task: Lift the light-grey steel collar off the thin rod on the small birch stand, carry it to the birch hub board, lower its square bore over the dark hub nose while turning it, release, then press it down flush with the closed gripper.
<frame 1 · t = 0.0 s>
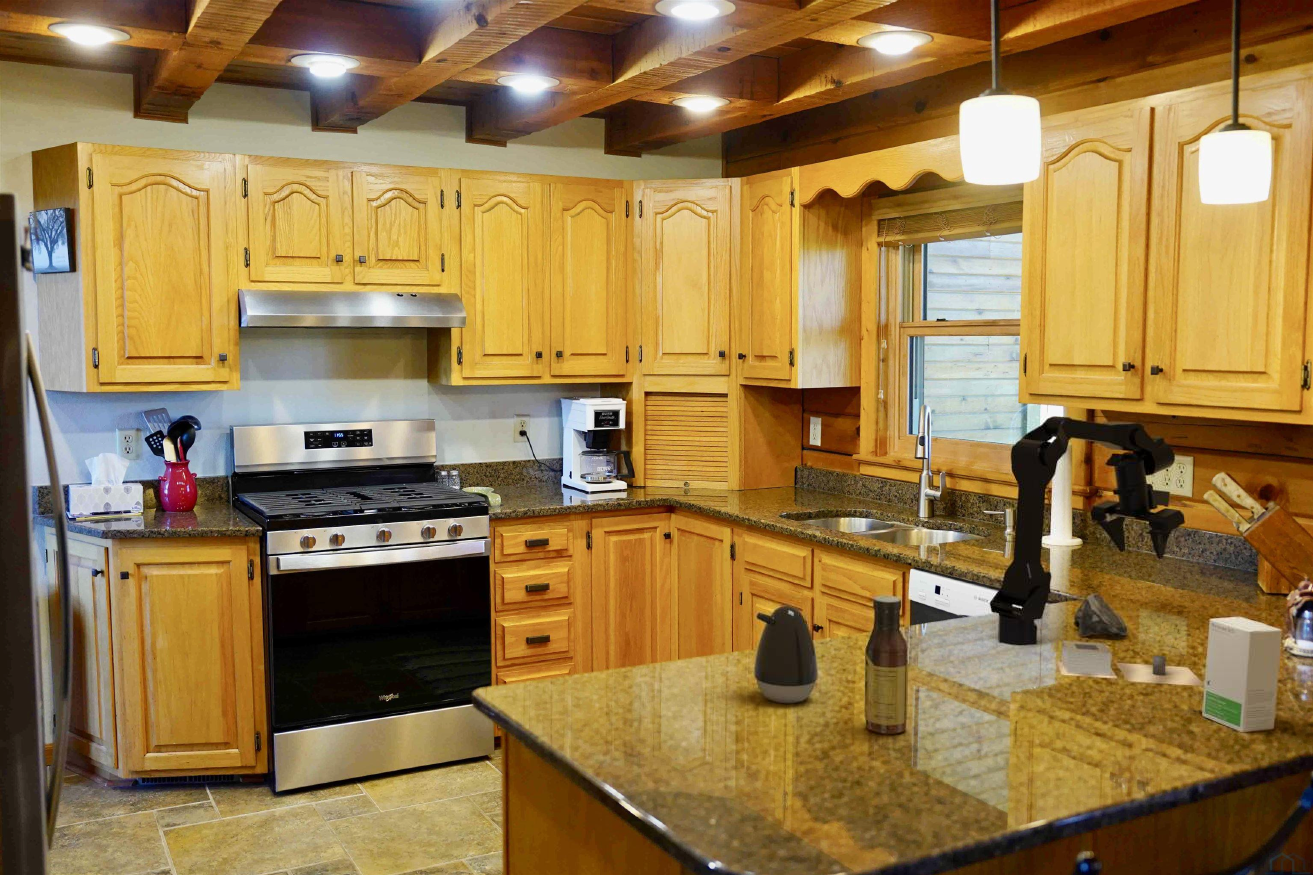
hand: (1141, 554, 238), 15 cm above the worktop, tool pointing down, fingers open, 9 cm apart
collar: (1085, 669, 203), point 1 cm above the worktop, touching stand
hub: (1158, 680, 200), on the worktop
pump dispenser: (784, 700, 187), on the worktop
skincare box: (1239, 724, 178), on the worktop
stand: (1085, 676, 203), on the worktop
carved stone fragment: (1101, 636, 233), on the worktop
sauce bottle: (885, 730, 172), on the worktop
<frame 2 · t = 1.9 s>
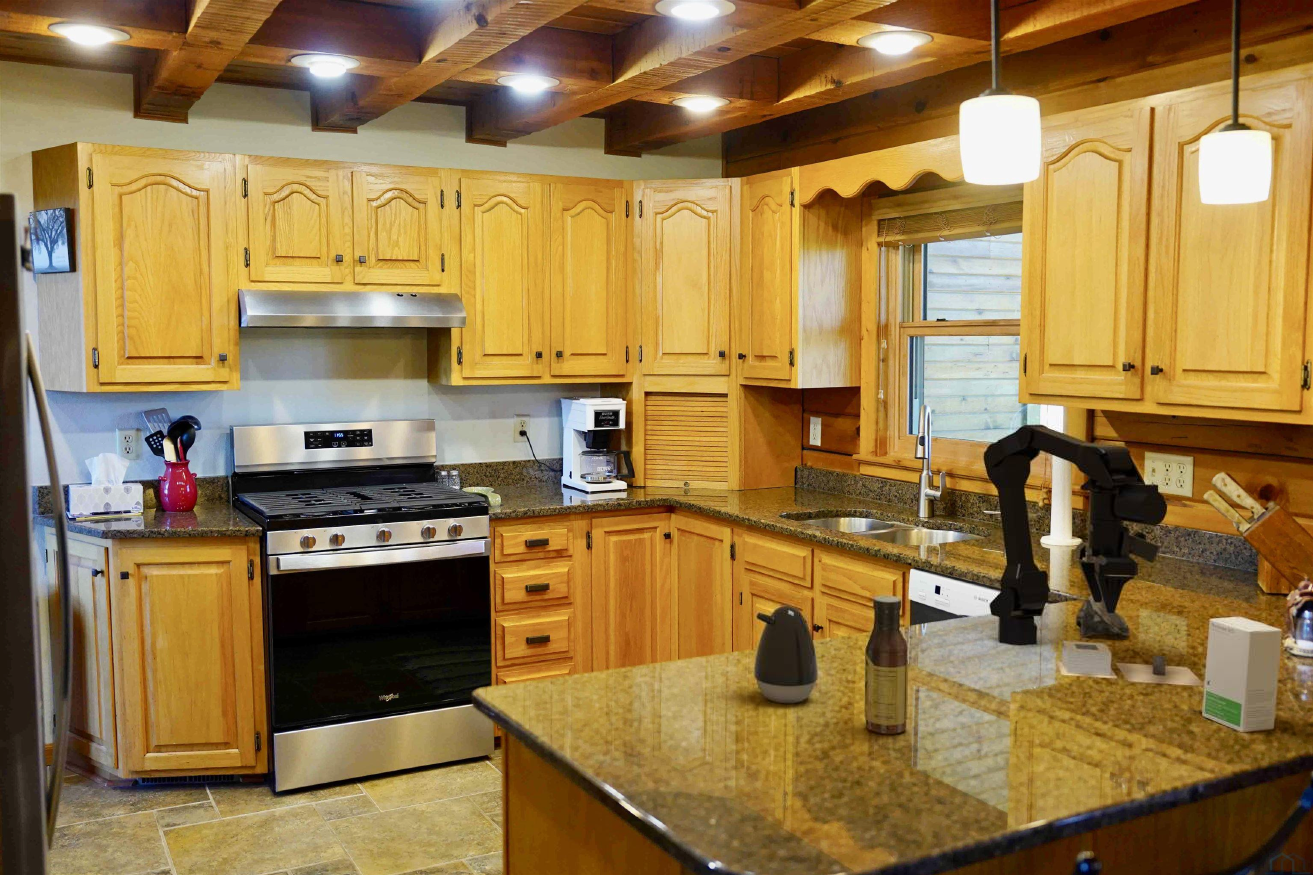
hand: (1104, 607, 202), 12 cm above the worktop, tool pointing down, fingers open, 9 cm apart
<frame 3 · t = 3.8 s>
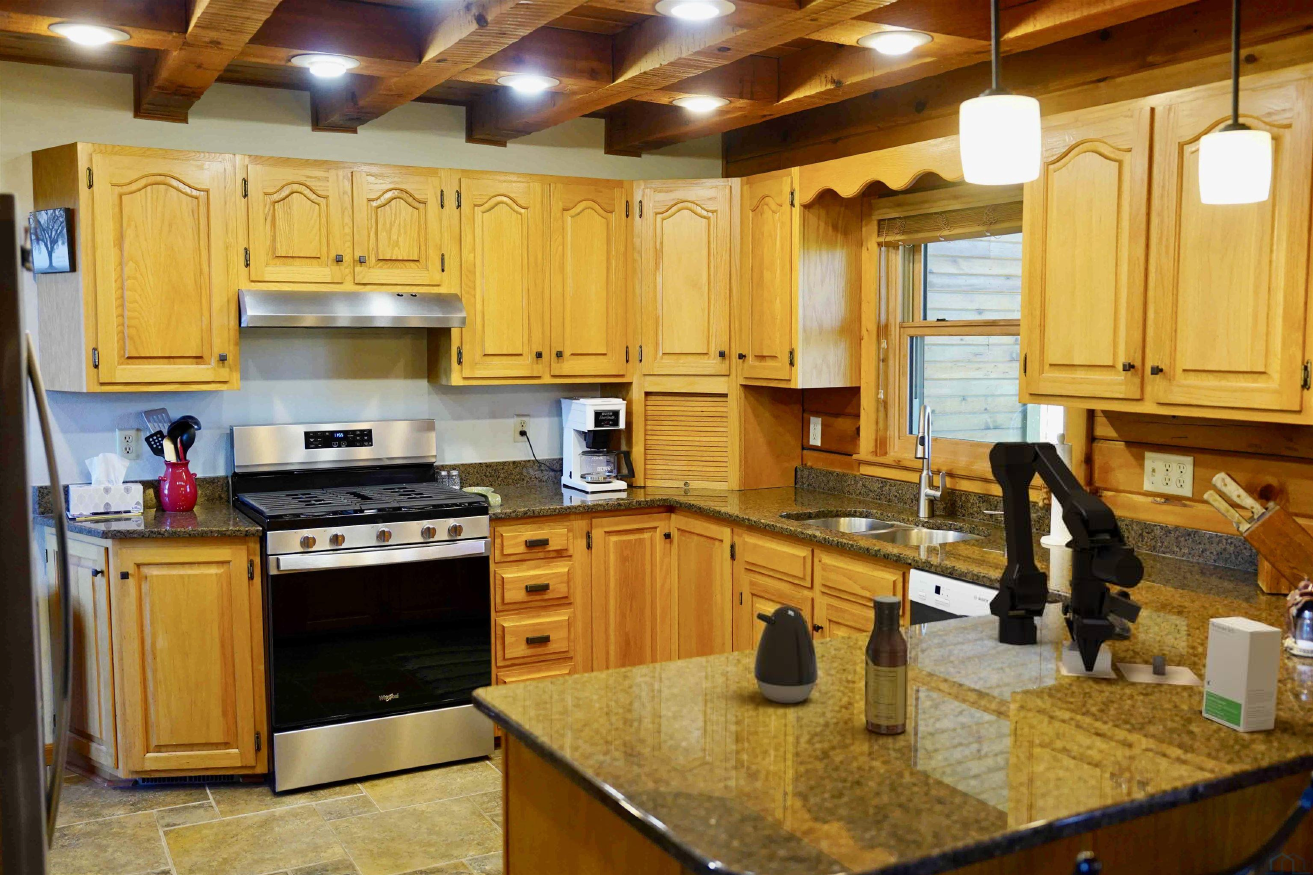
hand: (1085, 665, 203), 2 cm above the worktop, tool pointing down, fingers closed on collar, 7 cm apart
collar: (1085, 669, 203), point 1 cm above the worktop, touching gripper, stand
everything else where it was.
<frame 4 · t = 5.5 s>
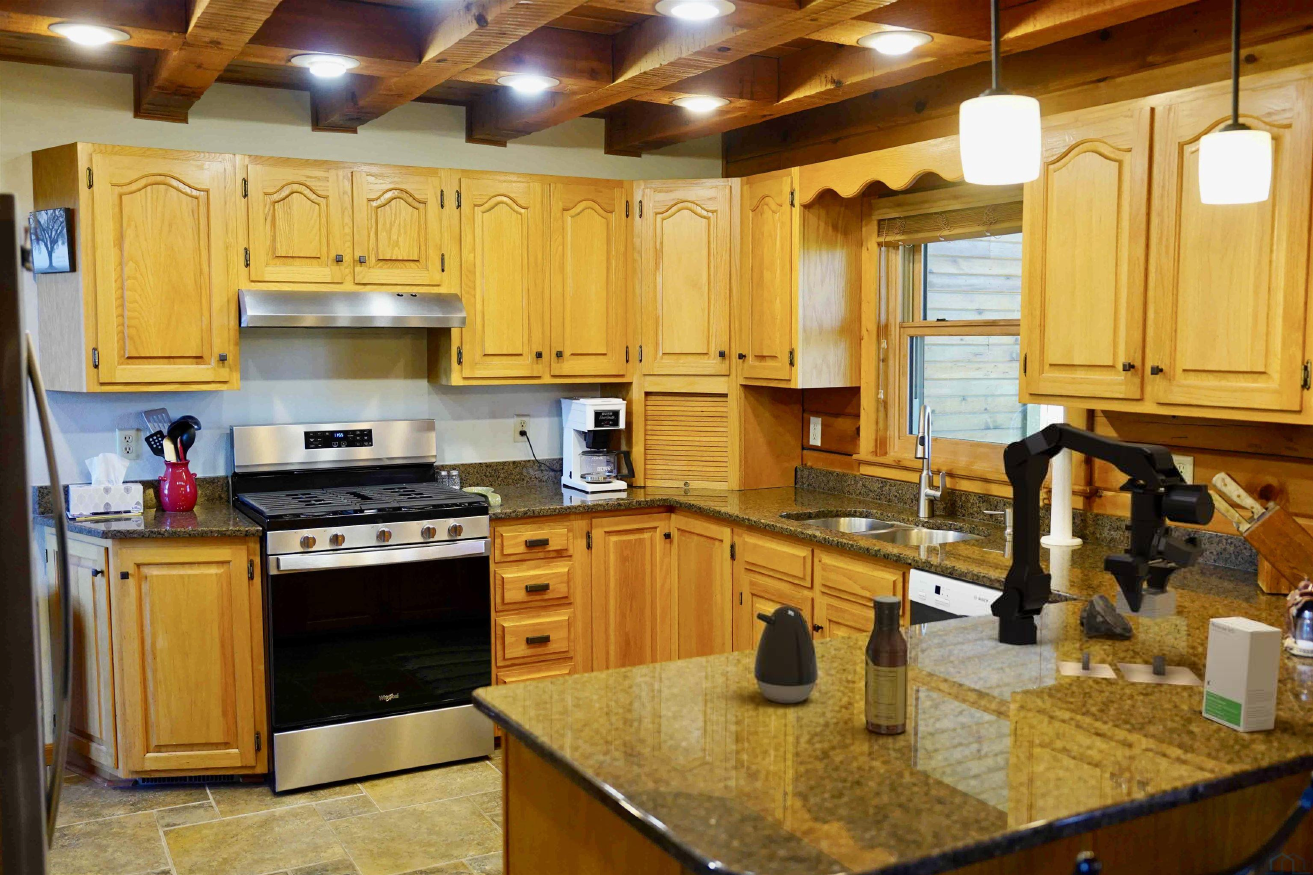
hand: (1145, 609, 200), 12 cm above the worktop, tool pointing down, fingers closed on collar, 7 cm apart
collar: (1145, 613, 200), point 12 cm above the worktop, touching gripper
when the fingers open (3 cm above the worktop, at t = 7.6 s): collar drops 1 cm, resting on hub.
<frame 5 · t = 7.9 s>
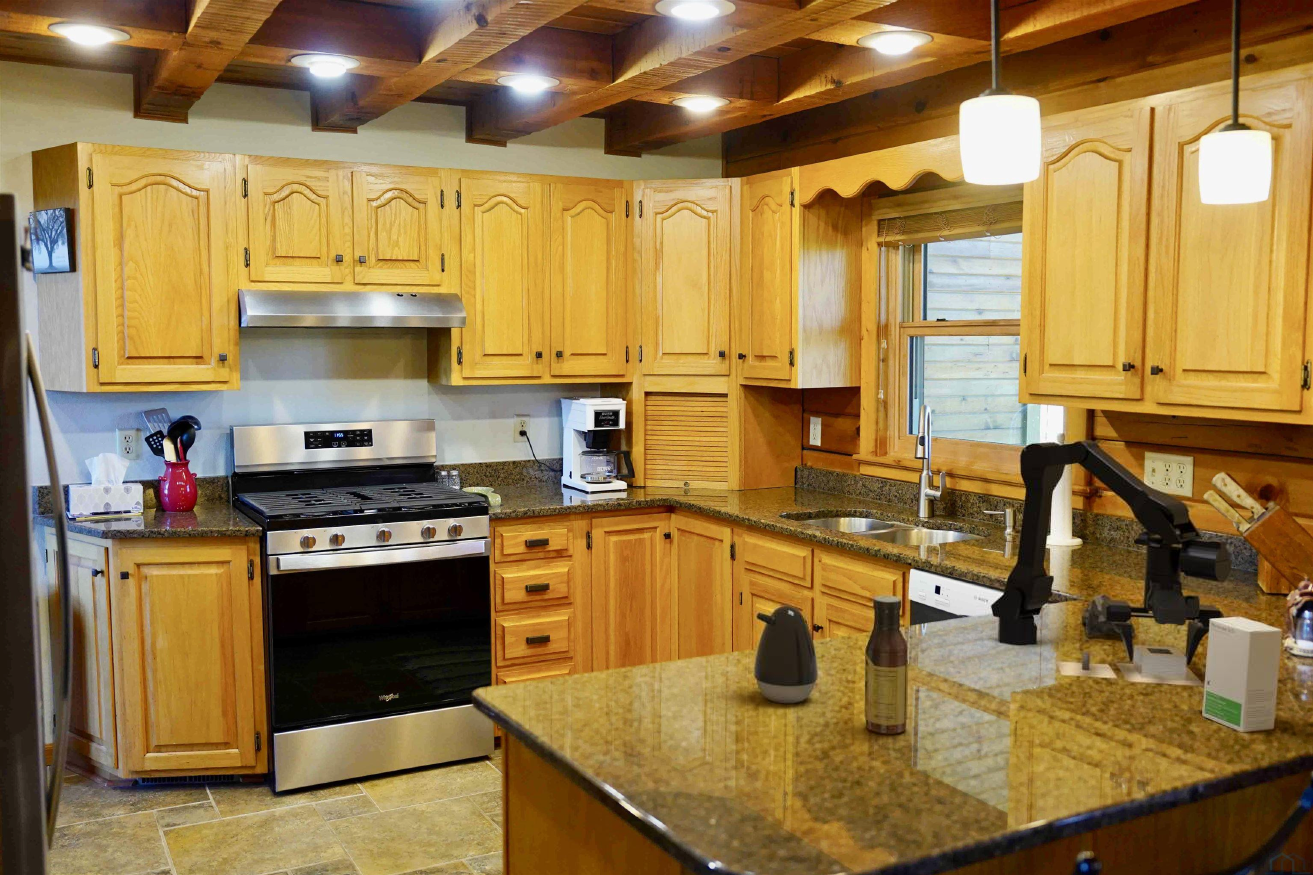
hand: (1159, 662, 200), 3 cm above the worktop, tool pointing down, fingers open, 9 cm apart
collar: (1158, 674, 200), point 1 cm above the worktop, touching hub
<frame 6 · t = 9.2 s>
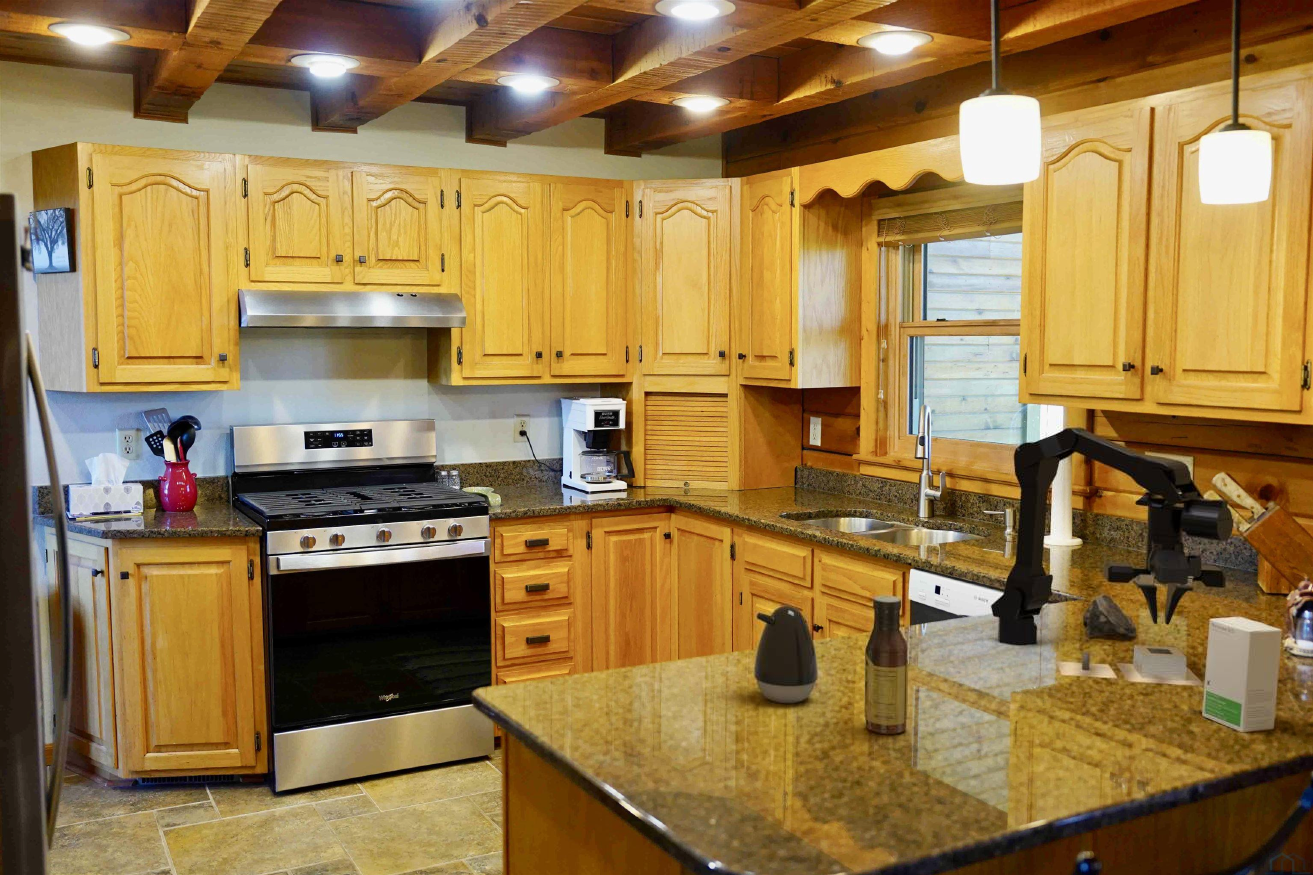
hand: (1161, 623, 200), 10 cm above the worktop, tool pointing down, fingers closed
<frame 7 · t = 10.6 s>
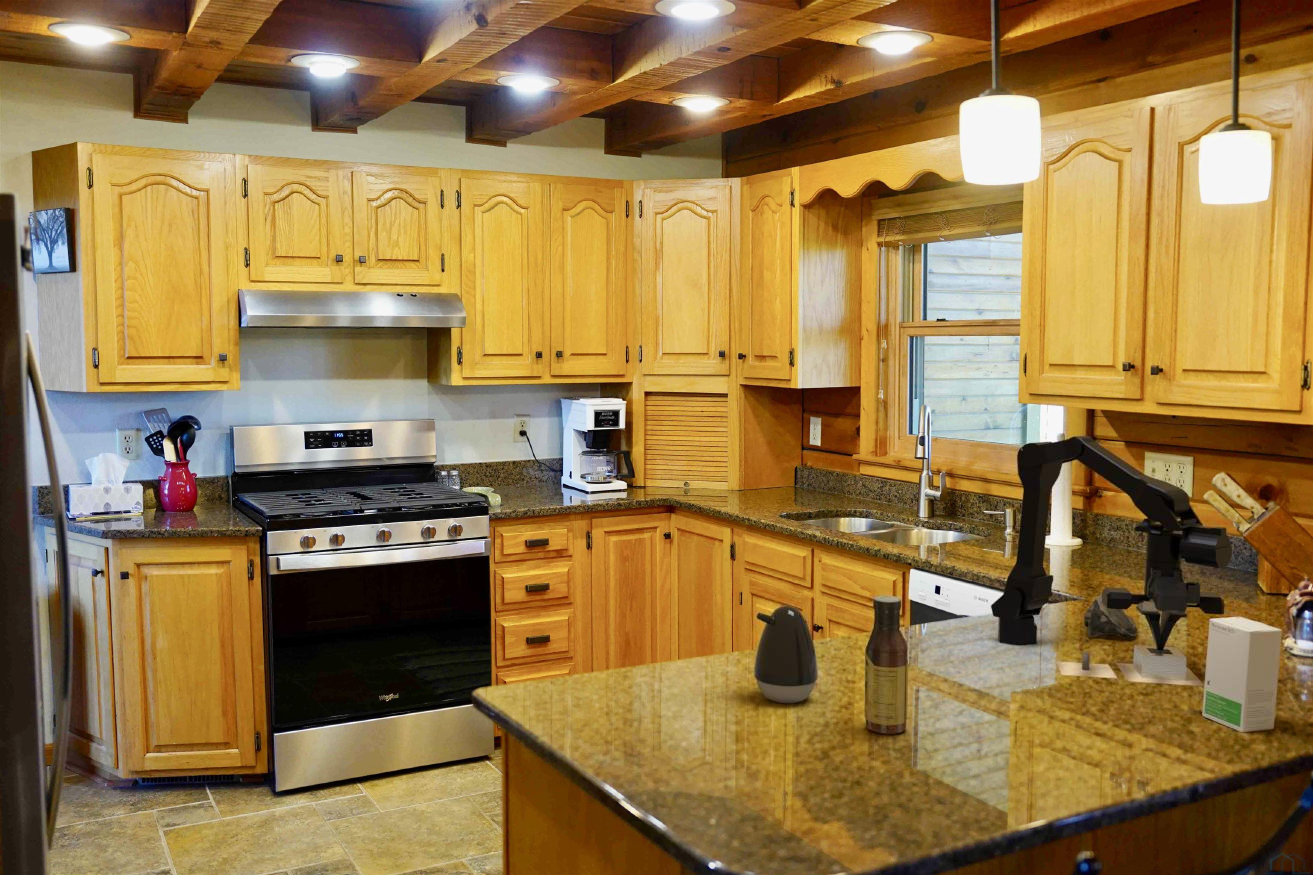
hand: (1159, 649, 200), 5 cm above the worktop, tool pointing down, fingers closed
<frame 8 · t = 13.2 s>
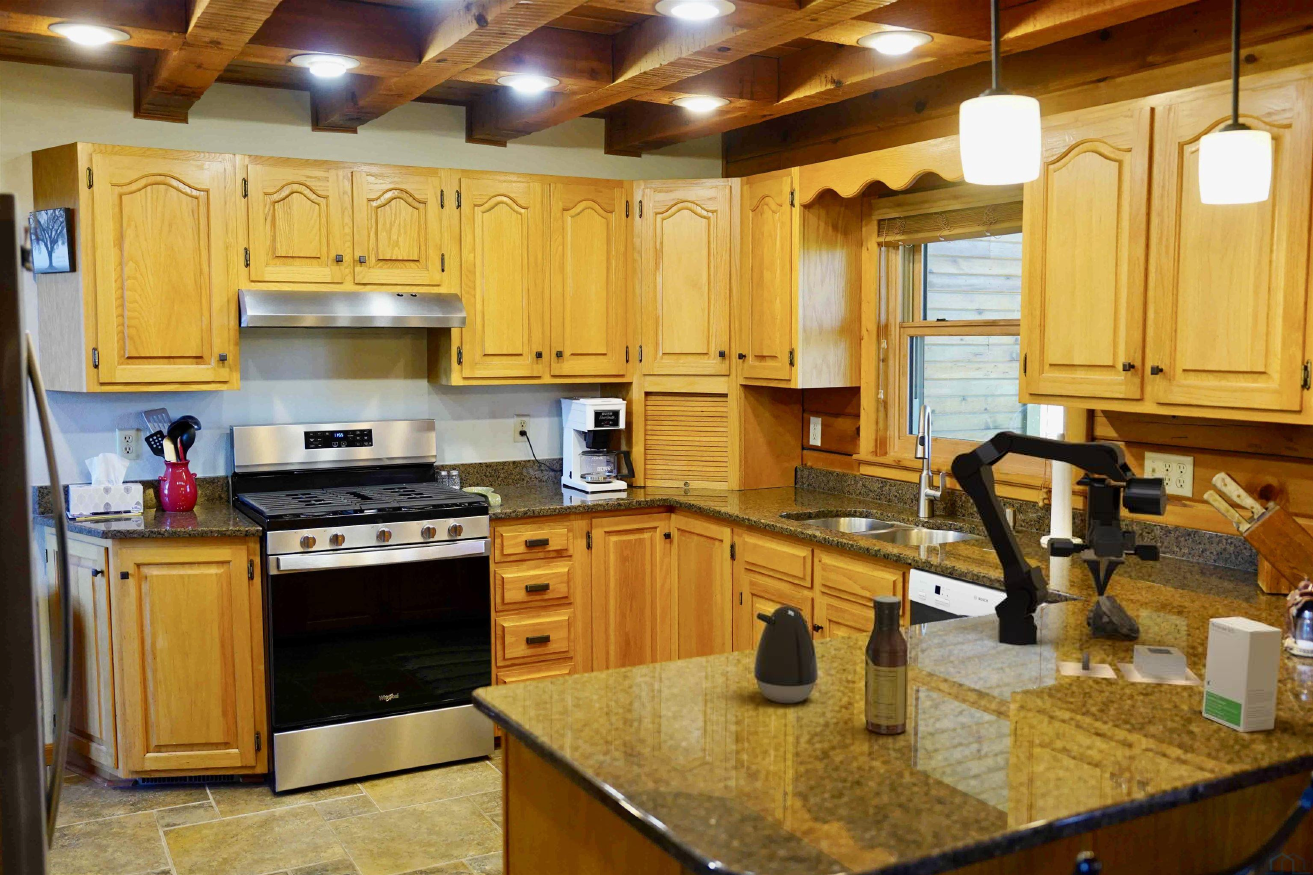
hand: (1100, 595, 213), 12 cm above the worktop, tool pointing down, fingers closed
at the end: collar 0.0 cm off-centre on the hub, point 1.2 cm above the hub's base; collar tilted 0°; the gripper is holding nothing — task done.
